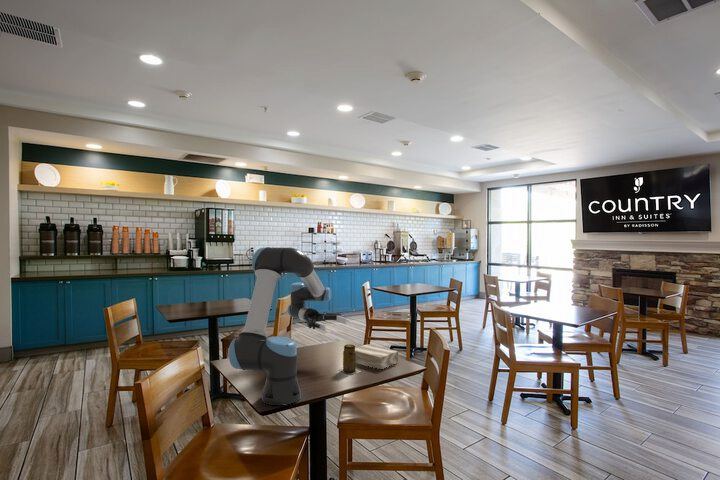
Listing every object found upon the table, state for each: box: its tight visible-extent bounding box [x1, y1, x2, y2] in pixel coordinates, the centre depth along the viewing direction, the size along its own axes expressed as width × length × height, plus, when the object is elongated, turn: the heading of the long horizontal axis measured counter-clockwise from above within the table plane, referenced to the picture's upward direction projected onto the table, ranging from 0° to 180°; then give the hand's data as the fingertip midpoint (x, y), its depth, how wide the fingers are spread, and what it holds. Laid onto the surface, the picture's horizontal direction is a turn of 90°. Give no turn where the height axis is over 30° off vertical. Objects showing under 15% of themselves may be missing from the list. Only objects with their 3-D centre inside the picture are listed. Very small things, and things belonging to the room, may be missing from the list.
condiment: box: [339, 343, 362, 375], centre depth 183 cm, size 7×8×12 cm
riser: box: [355, 343, 399, 370], centre depth 196 cm, size 14×20×6 cm
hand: (335, 324), depth 187 cm, fingers open, 13 cm apart
